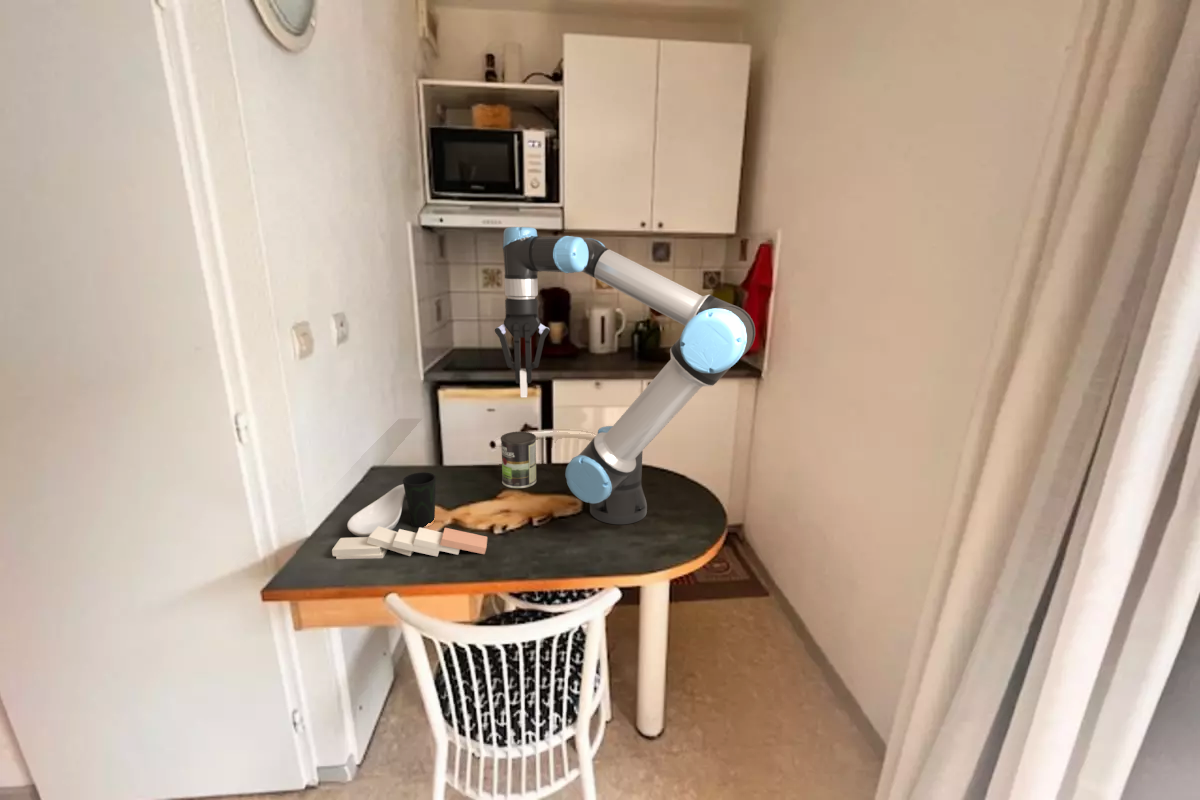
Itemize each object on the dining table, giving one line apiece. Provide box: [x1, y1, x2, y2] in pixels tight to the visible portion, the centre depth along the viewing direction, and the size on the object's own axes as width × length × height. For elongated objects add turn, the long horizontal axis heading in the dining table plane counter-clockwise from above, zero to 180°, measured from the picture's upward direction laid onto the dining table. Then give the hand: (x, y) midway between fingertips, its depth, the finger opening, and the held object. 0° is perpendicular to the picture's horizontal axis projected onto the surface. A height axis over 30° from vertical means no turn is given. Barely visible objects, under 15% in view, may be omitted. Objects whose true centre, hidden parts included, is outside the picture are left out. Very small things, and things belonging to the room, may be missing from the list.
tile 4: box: [331, 536, 383, 557], centre depth 118 cm, size 2×5×10 cm
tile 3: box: [367, 526, 414, 557], centre depth 119 cm, size 2×5×10 cm
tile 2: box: [392, 528, 440, 557], centre depth 118 cm, size 2×5×10 cm
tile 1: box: [413, 527, 461, 556], centre depth 119 cm, size 2×5×10 cm
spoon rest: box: [346, 484, 406, 537], centre depth 132 cm, size 24×12×7 cm, turn 165°
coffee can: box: [500, 431, 537, 489], centre depth 155 cm, size 10×10×14 cm
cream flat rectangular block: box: [335, 548, 389, 560], centre depth 118 cm, size 2×5×10 cm
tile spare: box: [440, 527, 488, 555], centre depth 119 cm, size 2×5×10 cm
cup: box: [402, 471, 437, 529], centre depth 130 cm, size 8×8×12 cm
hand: (524, 395), depth 127 cm, fingers closed
